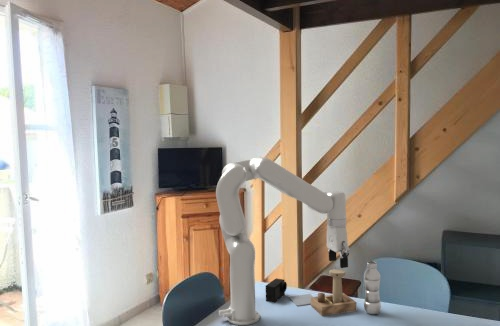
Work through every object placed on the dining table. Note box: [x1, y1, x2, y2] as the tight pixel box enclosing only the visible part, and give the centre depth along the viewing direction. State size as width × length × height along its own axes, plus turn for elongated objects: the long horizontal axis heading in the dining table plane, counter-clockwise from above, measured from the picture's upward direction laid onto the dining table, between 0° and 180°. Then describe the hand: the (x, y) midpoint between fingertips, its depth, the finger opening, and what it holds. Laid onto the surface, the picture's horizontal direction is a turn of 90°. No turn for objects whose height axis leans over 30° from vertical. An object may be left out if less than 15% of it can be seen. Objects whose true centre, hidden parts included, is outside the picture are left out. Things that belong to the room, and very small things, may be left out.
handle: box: [328, 268, 346, 304], centre depth 163 cm, size 5×6×15 cm
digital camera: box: [265, 278, 288, 304], centre depth 175 cm, size 10×5×7 cm, turn 151°
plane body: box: [310, 292, 357, 317], centre depth 163 cm, size 15×10×6 cm
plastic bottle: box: [363, 260, 382, 315], centre depth 157 cm, size 6×7×20 cm
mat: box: [288, 293, 314, 307], centre depth 172 cm, size 10×10×1 cm
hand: (338, 264), depth 163 cm, fingers open, 9 cm apart
